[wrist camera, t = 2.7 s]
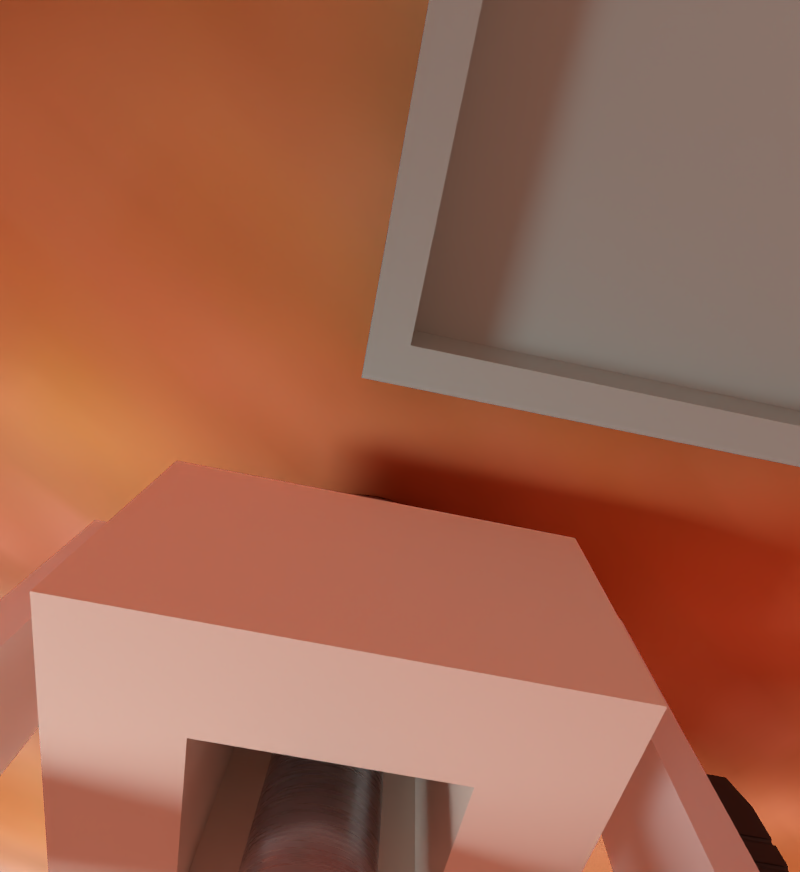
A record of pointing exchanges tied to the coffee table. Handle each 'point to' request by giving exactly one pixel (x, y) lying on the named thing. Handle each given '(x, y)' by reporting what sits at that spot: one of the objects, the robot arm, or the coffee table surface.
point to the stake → (316, 816)
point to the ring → (329, 679)
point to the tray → (603, 218)
